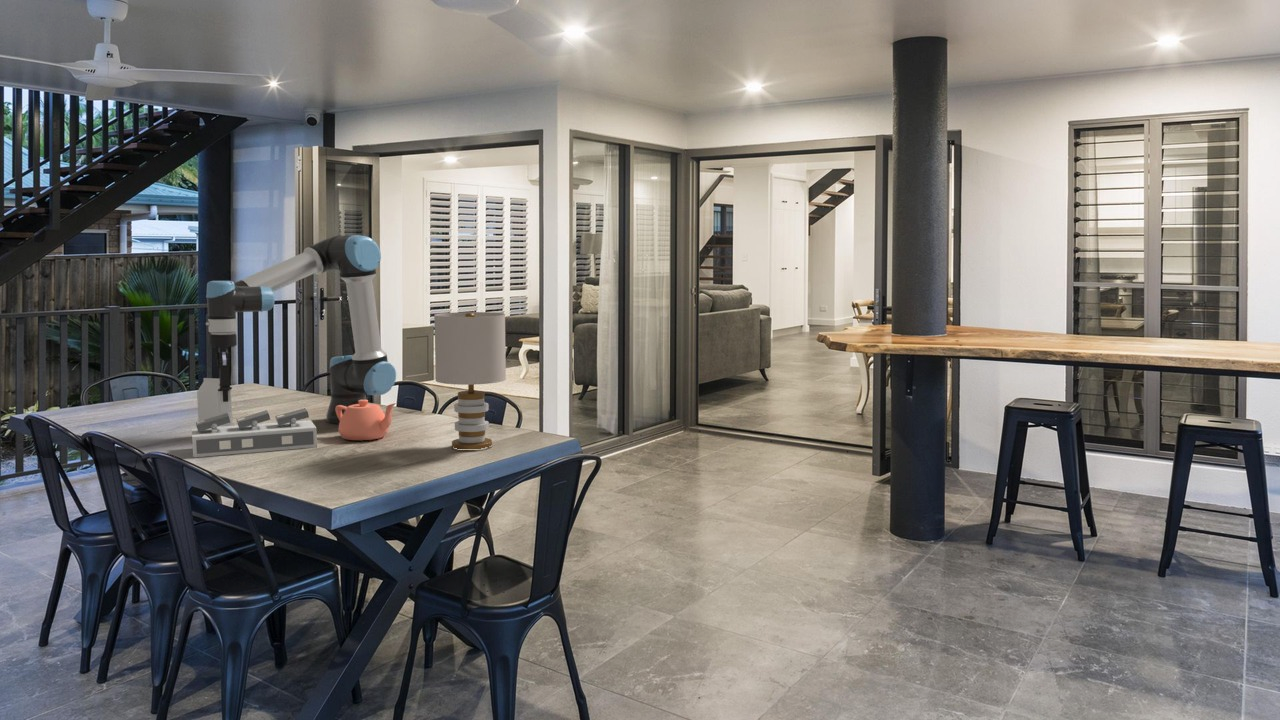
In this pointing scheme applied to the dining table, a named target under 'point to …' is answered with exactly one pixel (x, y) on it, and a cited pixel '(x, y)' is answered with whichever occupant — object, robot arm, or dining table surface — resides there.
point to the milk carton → (211, 400)
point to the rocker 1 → (213, 422)
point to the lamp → (470, 367)
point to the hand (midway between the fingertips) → (225, 412)
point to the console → (254, 438)
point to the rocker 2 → (292, 416)
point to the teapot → (363, 421)
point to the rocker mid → (253, 419)
